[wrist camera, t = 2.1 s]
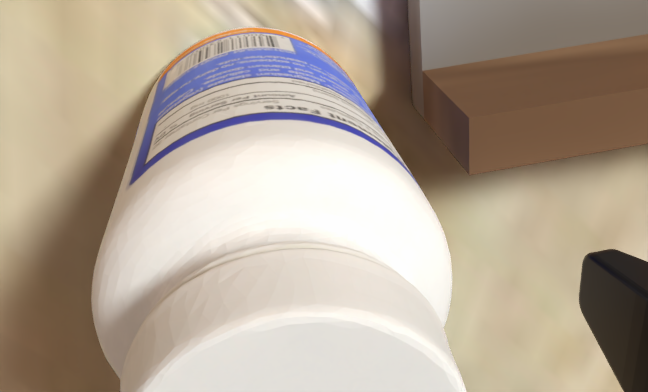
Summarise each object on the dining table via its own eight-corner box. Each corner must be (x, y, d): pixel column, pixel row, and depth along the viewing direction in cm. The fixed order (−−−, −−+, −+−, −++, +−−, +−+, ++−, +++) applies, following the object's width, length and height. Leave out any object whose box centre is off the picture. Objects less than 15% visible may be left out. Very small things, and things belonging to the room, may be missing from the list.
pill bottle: (301, 252, 17) (387, 631, 9) (108, 182, 15) (-23, 577, 7) (402, 79, 15) (634, 350, 7) (193, -24, 13) (158, 173, 5)
